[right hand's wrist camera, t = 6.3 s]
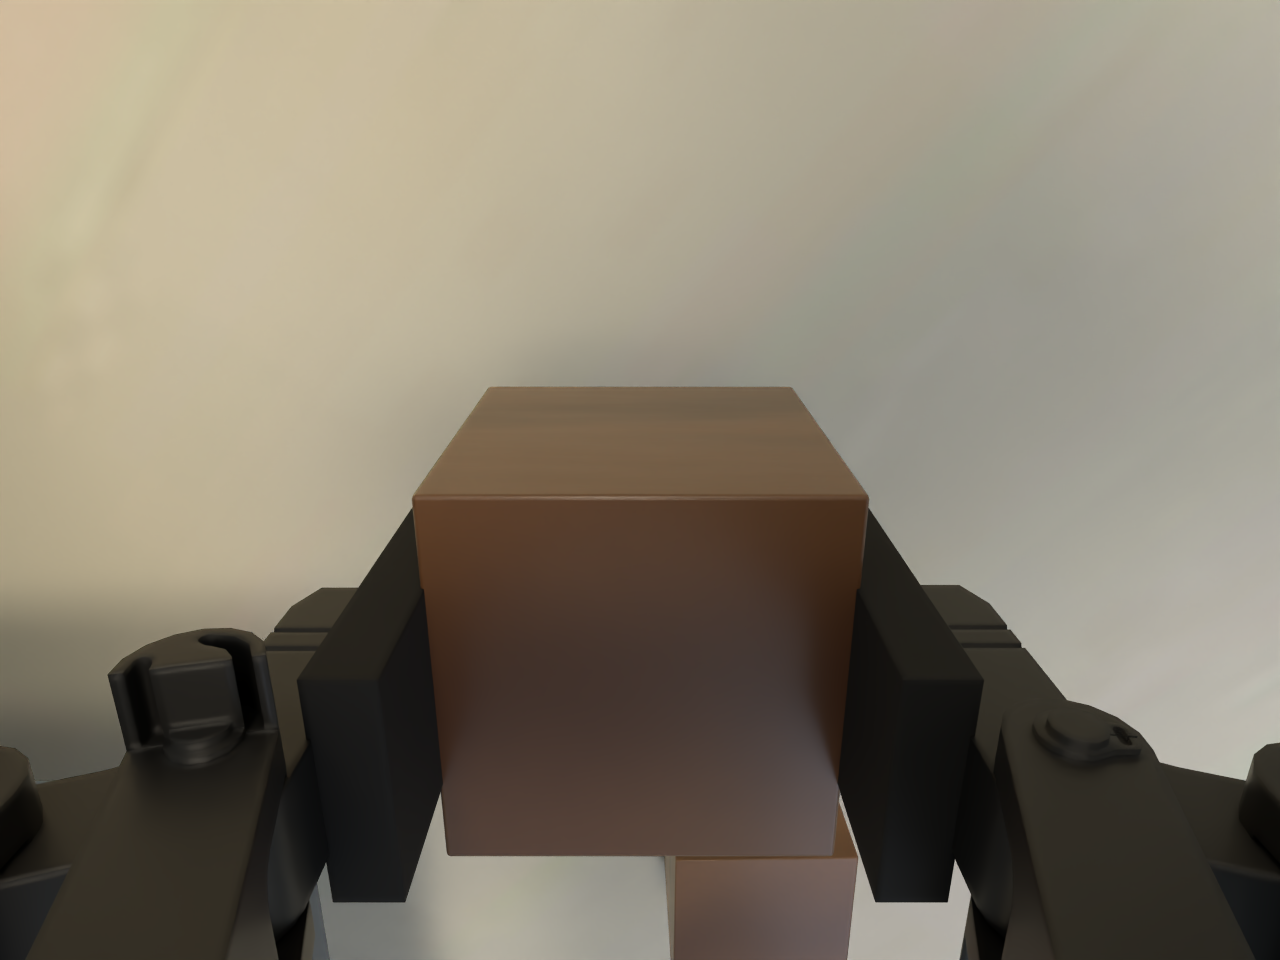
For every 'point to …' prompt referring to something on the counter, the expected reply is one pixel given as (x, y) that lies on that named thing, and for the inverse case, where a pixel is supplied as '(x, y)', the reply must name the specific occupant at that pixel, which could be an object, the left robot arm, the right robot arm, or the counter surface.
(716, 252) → the counter surface
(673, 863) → the walnut block
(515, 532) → the walnut block
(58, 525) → the counter surface
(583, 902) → the counter surface
